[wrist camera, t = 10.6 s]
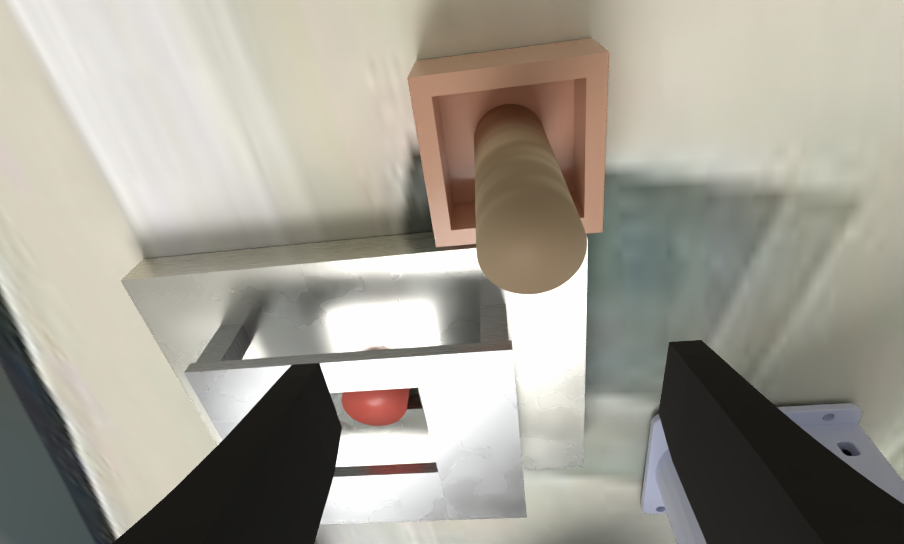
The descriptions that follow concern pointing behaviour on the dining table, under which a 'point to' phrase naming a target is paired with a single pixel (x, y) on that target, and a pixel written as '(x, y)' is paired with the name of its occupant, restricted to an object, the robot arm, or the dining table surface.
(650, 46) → the dining table surface
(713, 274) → the dining table surface
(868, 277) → the dining table surface
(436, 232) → the holder
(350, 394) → the button
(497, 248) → the stylus
